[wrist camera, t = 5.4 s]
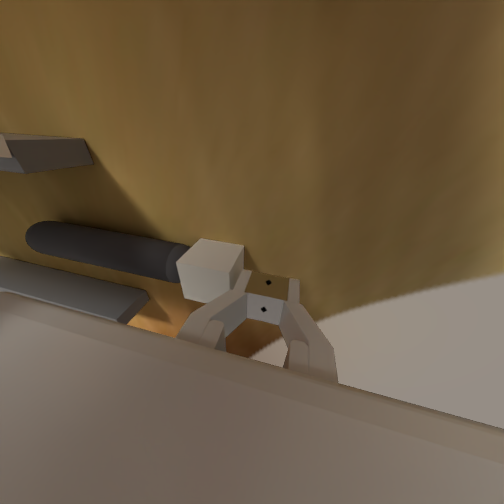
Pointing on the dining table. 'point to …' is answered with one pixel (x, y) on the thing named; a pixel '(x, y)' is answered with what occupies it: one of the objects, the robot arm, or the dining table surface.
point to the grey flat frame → (52, 280)
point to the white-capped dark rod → (145, 256)
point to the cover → (4, 148)
